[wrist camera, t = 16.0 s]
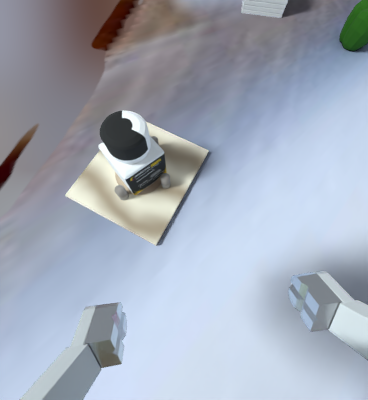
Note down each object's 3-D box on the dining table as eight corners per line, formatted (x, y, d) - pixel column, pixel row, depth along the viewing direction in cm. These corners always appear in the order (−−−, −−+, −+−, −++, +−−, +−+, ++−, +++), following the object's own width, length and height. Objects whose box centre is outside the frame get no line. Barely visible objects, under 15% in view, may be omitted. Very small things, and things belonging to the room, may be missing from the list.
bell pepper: (330, 49, 50) (365, -2, 41) (336, 29, 53) (370, -24, 43) (364, 60, 49) (408, 10, 40) (368, 39, 52) (411, -13, 42)
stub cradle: (129, 117, 42) (124, 101, 38) (208, 153, 39) (211, 141, 35) (67, 197, 36) (54, 188, 32) (156, 245, 33) (153, 242, 29)
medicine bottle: (135, 196, 35) (114, 161, 23) (111, 168, 36) (81, 122, 25) (167, 173, 36) (162, 129, 25) (144, 146, 38) (129, 94, 27)
